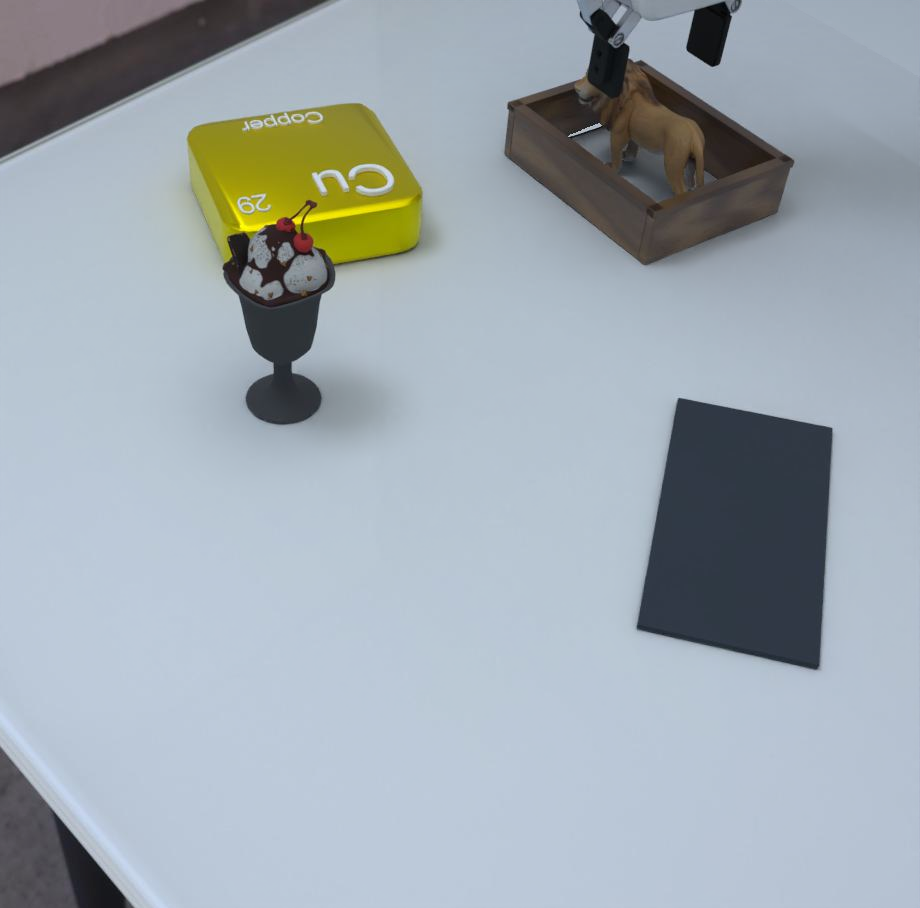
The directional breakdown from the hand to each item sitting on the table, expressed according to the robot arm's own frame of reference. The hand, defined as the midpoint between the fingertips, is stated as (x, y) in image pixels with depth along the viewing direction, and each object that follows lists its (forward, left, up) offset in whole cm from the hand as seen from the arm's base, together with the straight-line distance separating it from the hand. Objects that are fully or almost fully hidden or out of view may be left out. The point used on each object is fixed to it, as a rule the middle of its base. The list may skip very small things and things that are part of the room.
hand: (653, 73), depth 98 cm
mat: (+19, +32, -9) cm, 38 cm away
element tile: (+25, -10, -9) cm, 28 cm away
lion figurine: (0, 0, -9) cm, 9 cm away
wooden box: (0, 0, -9) cm, 9 cm away
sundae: (+37, +8, -9) cm, 39 cm away
